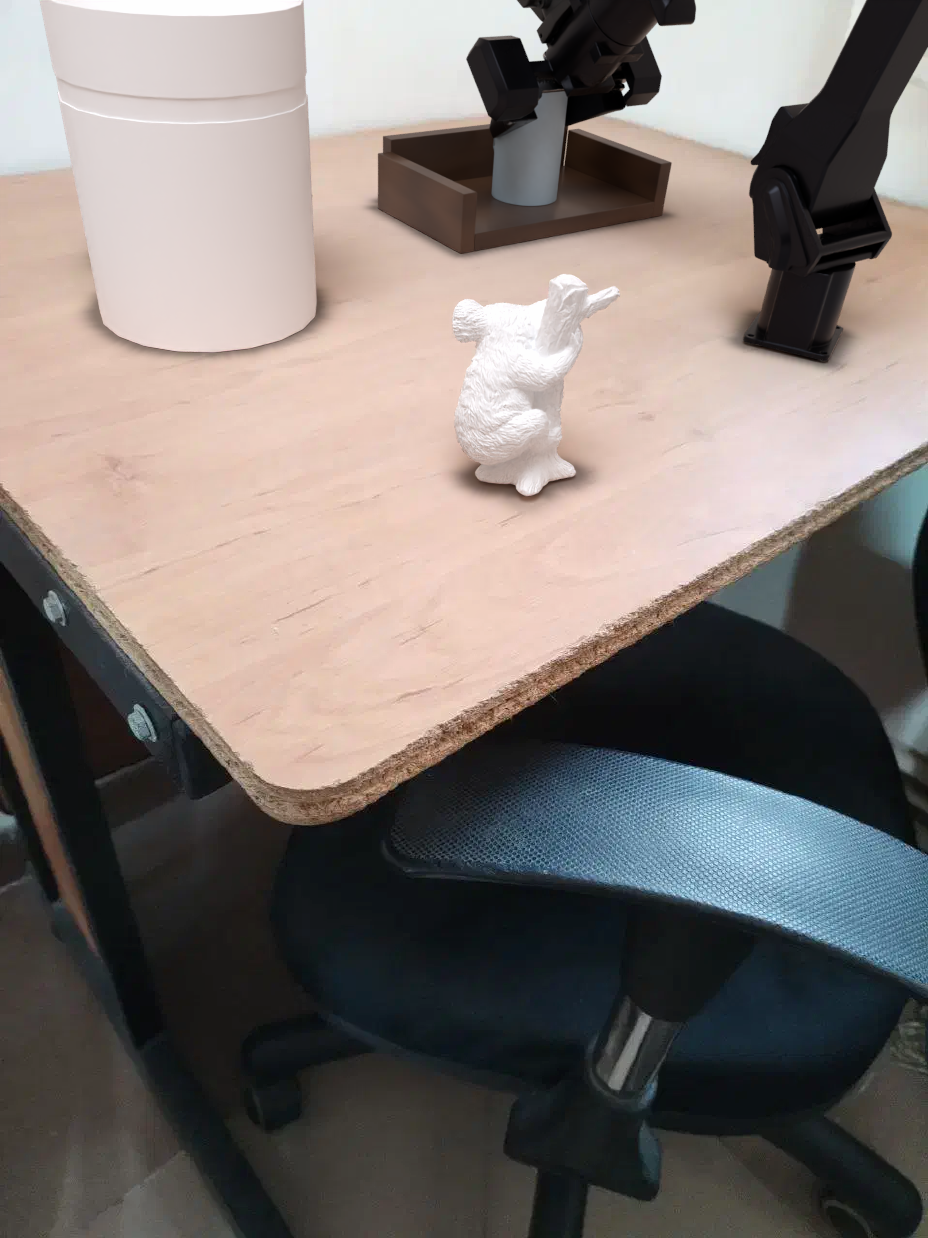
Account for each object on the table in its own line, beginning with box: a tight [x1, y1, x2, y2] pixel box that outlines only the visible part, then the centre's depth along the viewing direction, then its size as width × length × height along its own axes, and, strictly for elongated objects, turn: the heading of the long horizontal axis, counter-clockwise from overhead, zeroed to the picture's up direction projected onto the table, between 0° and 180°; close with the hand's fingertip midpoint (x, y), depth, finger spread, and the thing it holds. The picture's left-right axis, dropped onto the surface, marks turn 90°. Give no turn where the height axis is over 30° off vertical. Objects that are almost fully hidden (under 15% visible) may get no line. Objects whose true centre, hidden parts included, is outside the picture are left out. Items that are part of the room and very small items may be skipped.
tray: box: [377, 123, 673, 254], centre depth 93 cm, size 16×25×6 cm, turn 125°
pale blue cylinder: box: [492, 91, 568, 206], centre depth 91 cm, size 8×6×11 cm
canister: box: [39, 0, 318, 353], centre depth 66 cm, size 16×16×20 cm
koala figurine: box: [451, 273, 621, 497], centre depth 52 cm, size 8×7×12 cm
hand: (520, 129), depth 91 cm, fingers closed on pale blue cylinder, 6 cm apart
